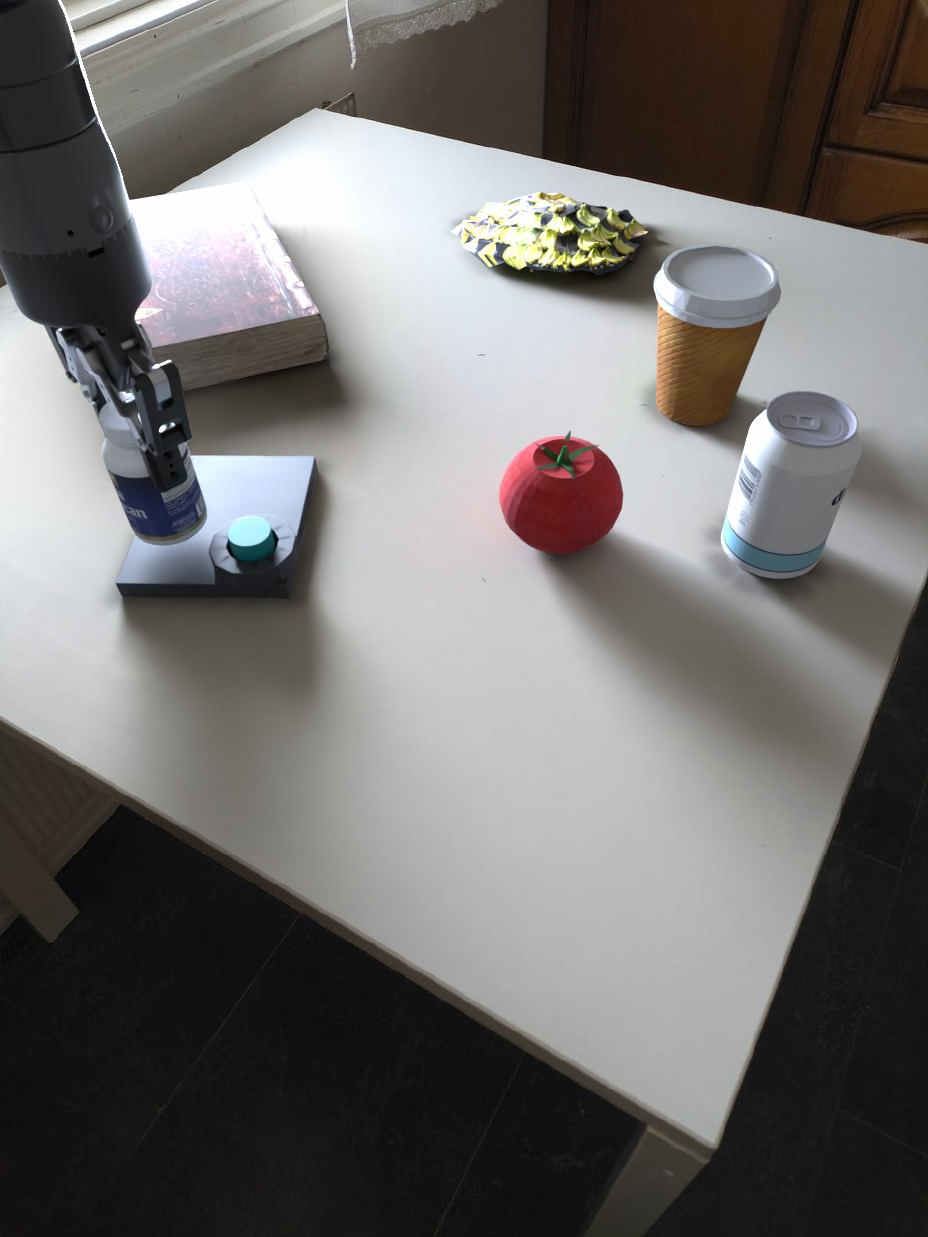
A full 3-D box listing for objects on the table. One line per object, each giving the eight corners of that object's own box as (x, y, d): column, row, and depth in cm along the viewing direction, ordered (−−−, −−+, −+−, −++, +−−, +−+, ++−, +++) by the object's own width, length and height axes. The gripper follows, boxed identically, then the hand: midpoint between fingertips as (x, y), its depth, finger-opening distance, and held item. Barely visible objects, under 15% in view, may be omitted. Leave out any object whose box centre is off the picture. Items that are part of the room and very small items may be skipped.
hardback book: (330, 358, 83) (322, 308, 79) (122, 407, 78) (104, 357, 75) (258, 222, 100) (248, 176, 97) (85, 256, 96) (69, 210, 92)
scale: (294, 604, 63) (287, 574, 61) (119, 601, 63) (105, 572, 61) (323, 469, 72) (318, 439, 70) (170, 468, 73) (160, 438, 71)
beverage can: (815, 596, 62) (870, 460, 53) (713, 578, 64) (750, 442, 55) (817, 529, 67) (869, 393, 57) (722, 513, 68) (758, 377, 59)
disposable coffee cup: (755, 381, 79) (789, 249, 70) (743, 447, 73) (779, 312, 64) (647, 364, 81) (667, 233, 72) (627, 427, 75) (645, 293, 66)
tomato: (544, 477, 71) (549, 392, 65) (640, 525, 67) (655, 439, 61) (474, 539, 67) (472, 454, 61) (572, 594, 63) (581, 508, 57)
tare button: (271, 562, 62) (266, 546, 61) (227, 562, 62) (222, 546, 61) (278, 532, 64) (274, 516, 63) (236, 532, 64) (232, 516, 63)
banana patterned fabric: (424, 271, 94) (420, 202, 91) (494, 245, 106) (493, 184, 103) (605, 282, 86) (608, 207, 82) (659, 253, 98) (663, 187, 95)
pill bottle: (116, 529, 64) (68, 417, 57) (172, 488, 67) (133, 376, 60) (169, 559, 62) (126, 446, 55) (224, 515, 65) (190, 402, 58)
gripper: (-65, 195, 50) (48, 441, 63) (54, 289, 43) (154, 545, 56) (61, 154, 53) (144, 395, 66) (190, 236, 46) (255, 488, 59)
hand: (148, 463), depth 61 cm, fingers closed on pill bottle, 5 cm apart
